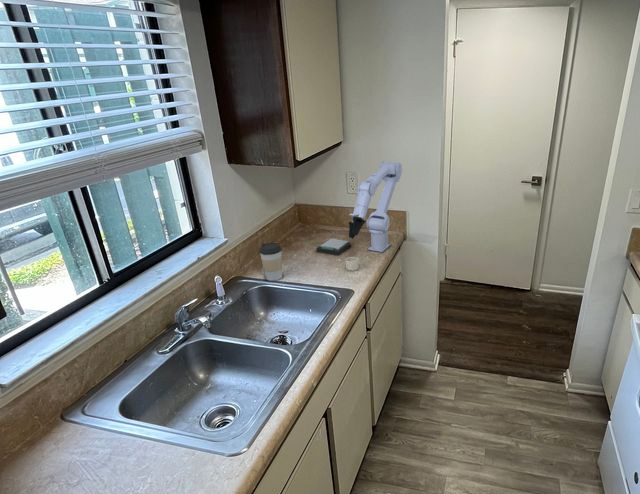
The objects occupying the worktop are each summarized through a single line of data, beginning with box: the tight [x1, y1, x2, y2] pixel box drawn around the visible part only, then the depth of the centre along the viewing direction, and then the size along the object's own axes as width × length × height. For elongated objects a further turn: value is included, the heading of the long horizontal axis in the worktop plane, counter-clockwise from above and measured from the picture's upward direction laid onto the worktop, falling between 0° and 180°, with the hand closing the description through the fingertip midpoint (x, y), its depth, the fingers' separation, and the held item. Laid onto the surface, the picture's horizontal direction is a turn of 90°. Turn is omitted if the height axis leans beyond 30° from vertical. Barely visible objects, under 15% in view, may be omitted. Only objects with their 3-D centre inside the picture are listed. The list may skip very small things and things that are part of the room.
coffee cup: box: [258, 242, 283, 282], centre depth 184 cm, size 9×9×15 cm
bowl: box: [344, 256, 359, 272], centre depth 193 cm, size 6×6×4 cm
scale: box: [316, 238, 352, 256], centre depth 214 cm, size 12×12×3 cm
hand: (352, 236), depth 189 cm, fingers open, 7 cm apart
